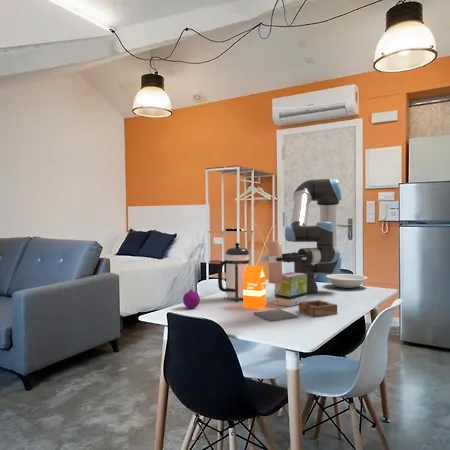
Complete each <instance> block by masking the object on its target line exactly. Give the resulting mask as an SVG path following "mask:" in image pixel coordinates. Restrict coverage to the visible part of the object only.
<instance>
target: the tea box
mask: <svg viewBox="0 0 450 450" xmlns="http://www.w3.org/2000/svg"><path fill="white" fill-rule="evenodd" d="M300 302H308V294H307V274H303V273H294V271H293V272H292V271H290V272H285V273H282V283H278V284H274V305H277V306H278V305H279V306H284V307H293V306H296V305H299V303H300Z"/></svg>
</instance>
